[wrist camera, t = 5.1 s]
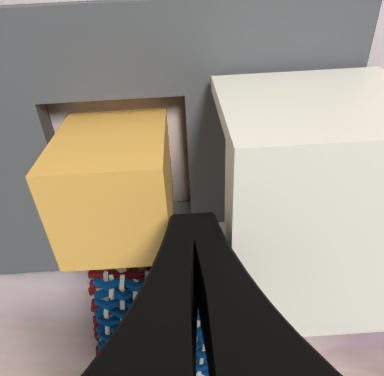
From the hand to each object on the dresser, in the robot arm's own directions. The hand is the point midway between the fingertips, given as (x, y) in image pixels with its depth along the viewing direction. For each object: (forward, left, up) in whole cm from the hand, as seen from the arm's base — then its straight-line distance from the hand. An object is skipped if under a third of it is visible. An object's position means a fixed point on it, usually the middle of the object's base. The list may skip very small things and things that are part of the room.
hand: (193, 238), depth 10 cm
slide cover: (+4, 0, -4) cm, 6 cm away
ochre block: (-3, 0, -6) cm, 7 cm away
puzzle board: (-2, 0, -6) cm, 6 cm away
